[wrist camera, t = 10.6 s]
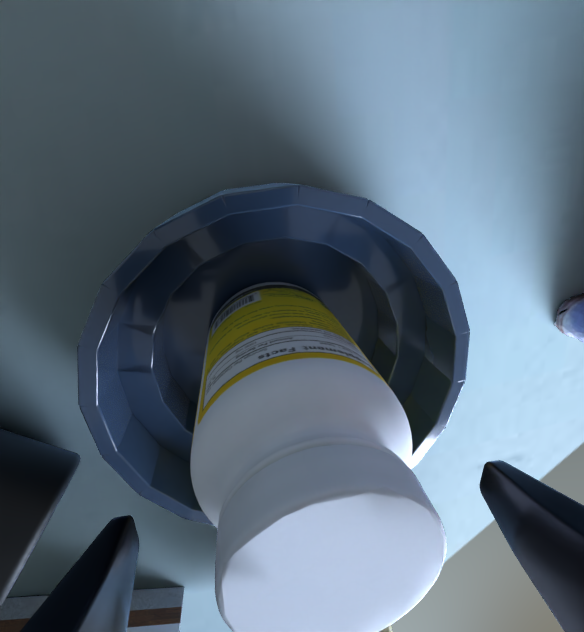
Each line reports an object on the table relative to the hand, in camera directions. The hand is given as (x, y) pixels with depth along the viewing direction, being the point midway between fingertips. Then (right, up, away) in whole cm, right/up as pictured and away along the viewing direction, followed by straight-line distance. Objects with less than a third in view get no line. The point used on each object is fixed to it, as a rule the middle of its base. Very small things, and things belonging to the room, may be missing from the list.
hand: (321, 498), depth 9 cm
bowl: (-2, +4, +9) cm, 10 cm away
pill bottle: (-2, +3, +8) cm, 9 cm away
